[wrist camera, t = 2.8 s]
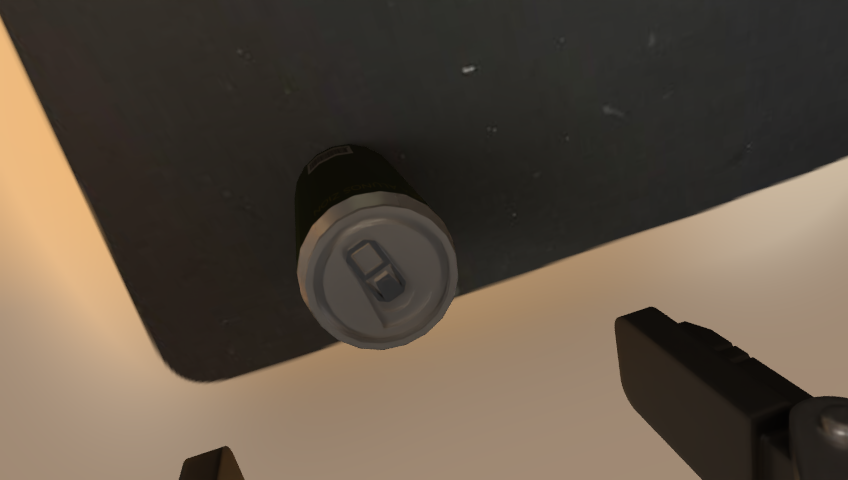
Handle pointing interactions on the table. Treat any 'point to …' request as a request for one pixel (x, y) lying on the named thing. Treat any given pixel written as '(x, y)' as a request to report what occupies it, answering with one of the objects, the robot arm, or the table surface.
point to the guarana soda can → (370, 251)
